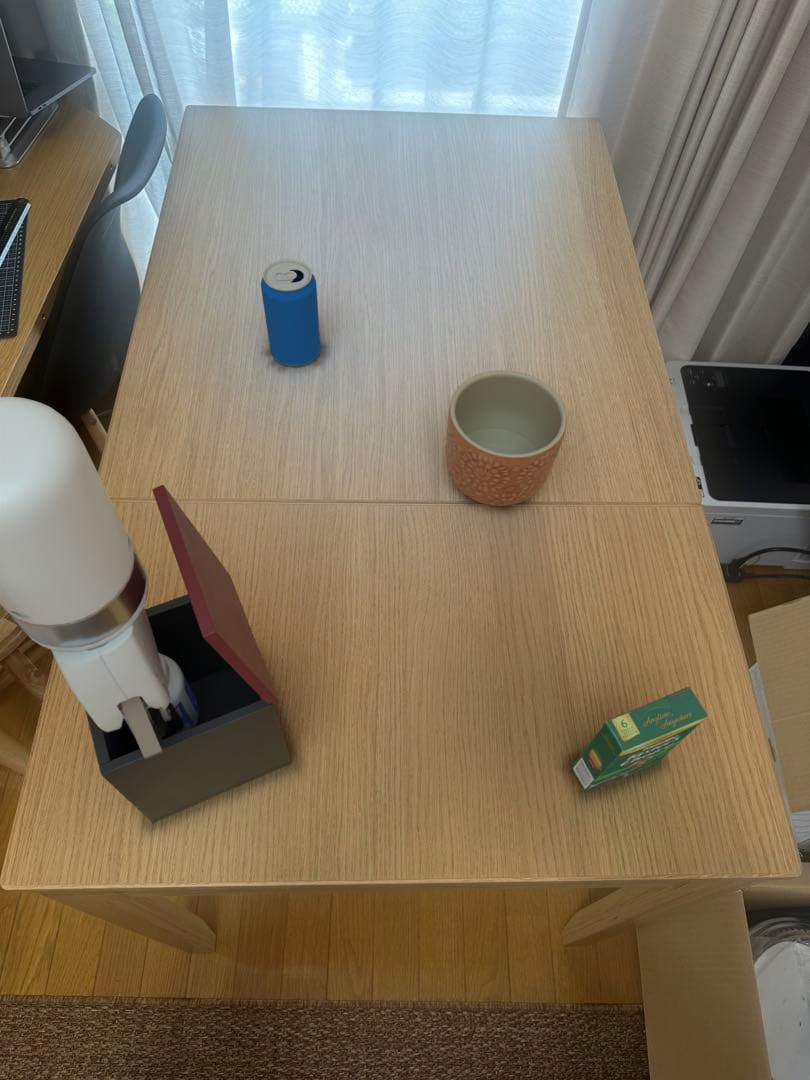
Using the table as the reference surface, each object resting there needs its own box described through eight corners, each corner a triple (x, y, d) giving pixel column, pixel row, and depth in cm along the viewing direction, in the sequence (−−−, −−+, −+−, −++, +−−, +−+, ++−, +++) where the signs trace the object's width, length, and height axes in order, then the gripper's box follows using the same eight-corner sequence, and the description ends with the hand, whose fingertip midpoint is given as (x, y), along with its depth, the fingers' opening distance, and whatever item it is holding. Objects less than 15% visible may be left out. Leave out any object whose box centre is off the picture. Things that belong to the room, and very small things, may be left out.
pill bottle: (146, 682, 64) (114, 631, 56) (208, 691, 63) (184, 642, 55) (125, 744, 61) (87, 700, 53) (189, 753, 60) (161, 711, 52)
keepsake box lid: (202, 637, 42) (215, 631, 42) (151, 488, 48) (163, 483, 48) (268, 705, 54) (278, 700, 54) (221, 579, 60) (230, 575, 60)
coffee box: (581, 797, 66) (623, 752, 55) (566, 767, 68) (604, 717, 57) (658, 765, 68) (713, 716, 57) (642, 737, 70) (693, 683, 59)
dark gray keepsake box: (153, 823, 64) (100, 775, 51) (121, 705, 69) (67, 636, 57) (291, 763, 67) (274, 705, 55) (251, 655, 73) (226, 579, 60)
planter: (419, 482, 85) (425, 417, 76) (479, 420, 91) (491, 352, 81) (509, 539, 81) (527, 478, 72) (566, 470, 87) (590, 405, 78)
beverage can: (323, 368, 94) (318, 290, 84) (272, 372, 94) (261, 294, 84) (318, 333, 98) (312, 254, 88) (269, 337, 97) (257, 258, 87)
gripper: (-14, 493, 46) (81, 624, 61) (35, 741, 38) (131, 821, 53) (108, 457, 48) (171, 592, 63) (180, 685, 40) (232, 778, 55)
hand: (152, 696), depth 58 cm, fingers closed on pill bottle, 5 cm apart
